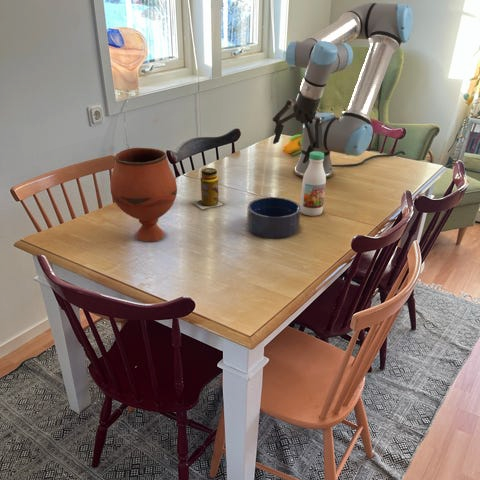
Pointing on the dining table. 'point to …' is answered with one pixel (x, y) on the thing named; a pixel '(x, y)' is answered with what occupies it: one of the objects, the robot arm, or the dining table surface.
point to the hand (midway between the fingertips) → (290, 152)
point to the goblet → (144, 188)
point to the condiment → (208, 189)
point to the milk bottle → (313, 186)
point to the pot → (273, 217)
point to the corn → (293, 145)
